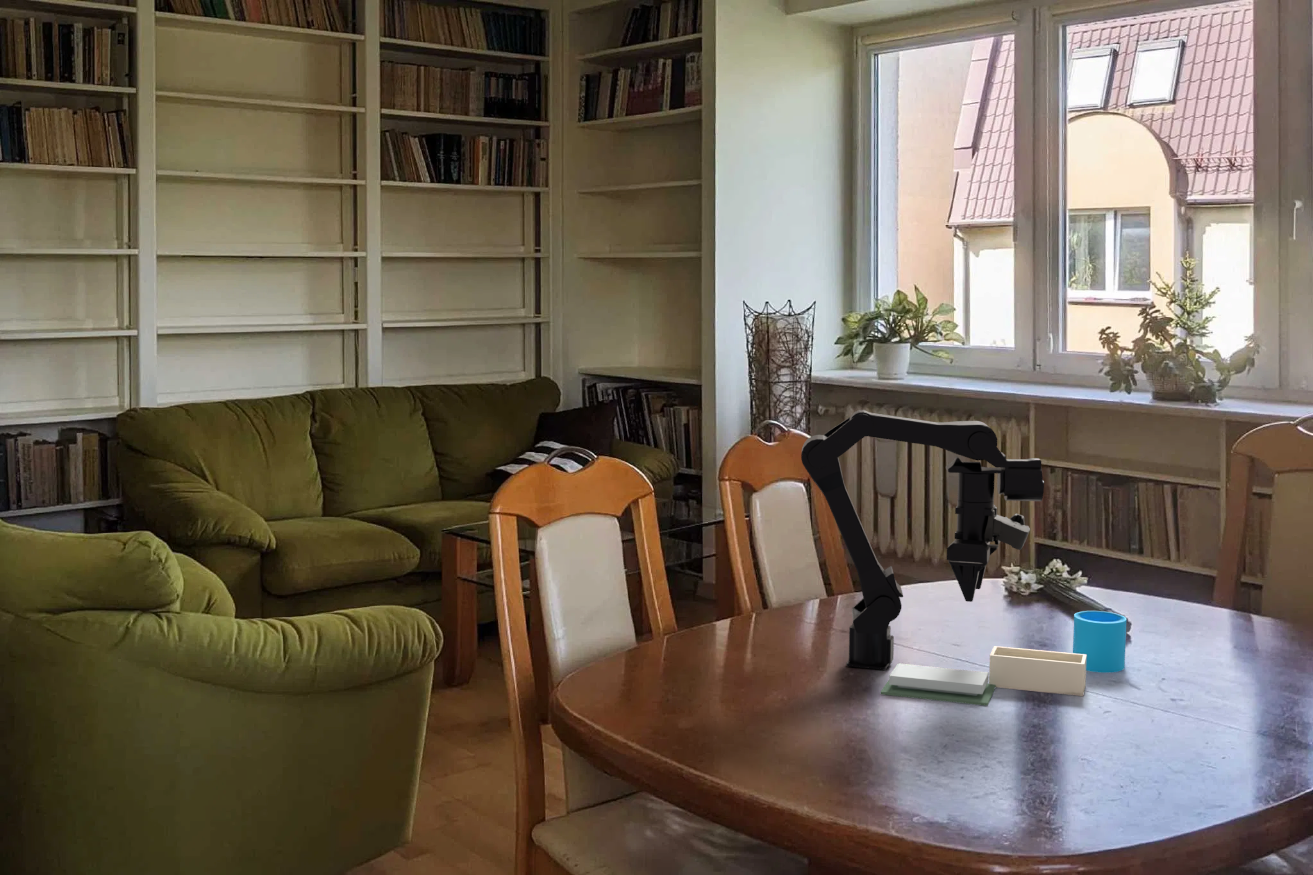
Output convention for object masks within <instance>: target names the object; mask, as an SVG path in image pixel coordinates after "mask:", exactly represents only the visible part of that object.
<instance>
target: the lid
mask: <svg viewBox="0 0 1313 875" xmlns="http://www.w3.org/2000/svg"><path fill="white" fill-rule="evenodd" d="M888 677H889V678H888V680H889V685H898V687H900V688H909V689H919V690H928V691H937V692H947V693H956V694H965V695H975V696H977V694H983V692H984V690H985V687H986V685H987V683H989V672H988V671H987V672H986V671H978V670H969V669H968V670H967V669H957V668H948V667H937V666H928V665H927V666H926V665H918V664H910V663H909V664H906V663H900V662H899V663H897V664H896V666H895V667H894V669H892V671H891V672H890V674H889V676H888Z"/></svg>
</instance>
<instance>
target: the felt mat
mask: <svg viewBox="0 0 1313 875" xmlns="http://www.w3.org/2000/svg"><path fill="white" fill-rule="evenodd" d="M996 688H997V687H996V685H993V684H989V682H988V683H987V685H986V687H985V690H984V692H983V694H977V696H975V695H965V694H956V693H947V692H937V691H928V690H919V689H909V688H900V687H898V685H889V679H888V680H887V681H886V683H885V685H884V686H883V687H882V689H881V690H880V695H881V696H882V695H884V696H893V697H902V698H913V699H919V700H920V699H923V700H931V701H939V702H949V703H957V704H968V705H975V706H985V707H988V706H989V703H990V701H991V699H992V696H993V694H994V691H995V690H996Z"/></svg>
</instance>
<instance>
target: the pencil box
mask: <svg viewBox="0 0 1313 875" xmlns="http://www.w3.org/2000/svg"><path fill="white" fill-rule="evenodd" d="M1086 657H1087V655H1086V654H1075V653H1073V652H1064V651H1063V652H1062V651H1053V650H1041V649H1032V648H1031V649H1029V648H1021V647H1020V648H1018V647H1009V646H997V645H994V646H993V647H992V649H991V652H990V654H989V670H988V671H989V678H988V683H989V684H993V685H996V687H995V688H999V689H1000V688H1001V689H1009V690H1018V691H1019V690H1020V691H1029V692H1039V693H1049V694H1058V695H1059V694H1060V695H1065V696H1067V695H1068V696H1077V697H1084V695H1085V690H1086V682H1087V681H1086V679H1087V677H1086V676H1087V671H1086Z"/></svg>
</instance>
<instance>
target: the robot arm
mask: <svg viewBox="0 0 1313 875" xmlns="http://www.w3.org/2000/svg"><path fill="white" fill-rule="evenodd" d="M865 437H870V438H876V439H883V440H889V441H896V442H897V441H898V442H903V443H910V444H917V445H924V446H931V447H936V448H939V449H943V450H945V451H948V452H949V453H950V452H951V453H952V454H956V455H959V456H961V457H964V458H968V459H970V460H974V461H962V460H961V459H960V458H959V456H955V457H954V459H953V460H952V461H951V462H950V463H948V464H947V465H946V466H945V469H946V471H947V472H948V473H949V474H957V502H956V503H957V504H956V506H955V509H954V510H955V511H954V514H955V515H956V531H955V532H954V541H952V542H951V543H950V544H949V545H948V547H947V548H946V560H947V561H948V565H950V567H951V569H952V570H951V571H952V572H953V574H954V576H955V579H956V581H957V584H958V585H959V588H960V591H961V593H962V595H963V597H964V598H963V599H964V600H965V602H967V603H968V602H969V603H970V602H971V603H972V602H973V601H974V598H975V592H976V590H980V589H981V588H982V584H983V580H984V575H985V572H986V567H987V565H988V563H989V562H990V556H991V555H992V554H993V553H994V552H996V551H997V550H998V548H999V546H1000V543H1001V542H1002V543H1004V544H1006V545H1009V546H1011V548H1013V549H1015V550H1018V551H1021V550H1022V549H1023V547H1024V545H1025V544H1026V541H1027V538H1028V536H1029V534H1030V531H1031V528H1030V526H1029V525H1026V521H1025V519H1026V518H1025V516H1024V515H1022V514H1019V513H1014V514H1013V515H1011V517H1010V518H1008V516H1005V517H1004V516H1002V515H999V514H998V507H997V506H996V504H995V477H996V474H997V477H996V478H997V480H996V481H997V482H996V484H997V486H996V488H997V494H998V495H1003V498H1004V500H1005V501H1010V502H1011V501H1013V502H1014V501H1016V502H1019V501H1020V502H1022V501H1023V502H1042V501H1043V499H1044V492H1045V490H1044V489H1045V481H1044V480H1043V479H1044V477H1043V469H1042V460H1041V459H1040V458H1038V457H1037V458H1036V457H1034V458H1033V457H1031V458H1026V459H1020V458H1017V459H1013V458H1012V459H1011V458H1007V456H1006V454H1004V452H1002V451H1001V450H1000V449H999V448H998V437H997V434H996V433H995V431H994V430H993V428H991V427H990V426H989V425H987V424H986V423H985V422H982V421H980V420H961V421H960V420H957V421H941V422H937V421H936V422H935V421H929V420H923V419H922V420H921V419H916V418H908V417H904V416H903V417H901V416H896V415H889V414H881V413H874V412H870V411H867V410H865V409H858V410H856V411H854V412H853V413H852V414H851V415H850V416H849V417H847V418H846V419H845V420H843V421H842V422H840V423H839V424H837V425H835V426H834V427H832V428H831V429H829V430H828V431H827V432H825V433H824V434H815V435H812V436H810V437H808V438H807V439H806V440H805V441H804V443H803V445H802V448H801V454H800V455H801V456H800V457H801V464H802V465H803V467H804V469H805V470H806V472H807V473H808V474H809V477H811V479H812V481H813V482H814V484H816V487H817V488H818V490H819V491H820V492H821V494H822V495H823V496H824V497H825V500H826V502H827V505H828V506H829V510H830V511H831V513H832V516H833V518H834V520H835V523H836V525H837V529H838V530H839V533H840V534H841V537H842V539H843V541H844V543H845V546H846V549H847V551H848V553H849V555H850V557H851V560H852V563H853V564H854V566H855V569H856V571H857V572H856V573H857V575H858V580H859V584H860V587H861V593H862V597H863V598H861V599H860V600H859V601H858V602H857V603H855V605H854V606H852V607H851V614H852V616H851V617H852V623H851V625H850V626H849V630H848V631H849V632H848V660H847V662H845V667H846V666H847V667H852V668H861V669H870V670H871V669H872V670H886V669H887V668H888V667H889V666H890V665H891V664H892V662H893V660H894V649H895V648H894V647H895V646H894V645H895V644H894V642H895V638H894V636H893V635H891V631H892V630H891V625H890V624H891V622H892V621H895V620H896V619H897V618H898V616H899V615H900V613H901V611H902V606H903V605H902V601H901V598H903V597H904V594H903V590H902V586H901V585H900V584H899V583H898V582H897V580H896V578H895V575H894V570H893V566H888V567H887V568H886V569H884V567H883V566H882V564H881V563H880V562H879V561H878V559H877V556H876V554H875V552H874V549H873V548H872V545H871V543H870V540H869V538H868V535H867V534H866V532H865V529H864V527H863V524H862V522H861V520H860V517H859V515H858V513H857V511H856V507H855V506H854V503H853V500H852V499H851V497H850V494H849V492H848V490H847V487H846V484H845V481H844V476H843V472H842V467H841V462H840V459H839V458H840V456H841V457H842V455H844V454H845V453H846V452H847V451H849V450H850V449H851V448H853V446H855V445H856V444H857V443H858V442H859V441H861V440H862V439H864V438H865ZM980 461H986V462H987V463H988V464H990V465H991V466H993V467H986V466H985V467H984V466H982V463H981V462H980ZM993 542H994V544H990V543H993Z"/></svg>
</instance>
